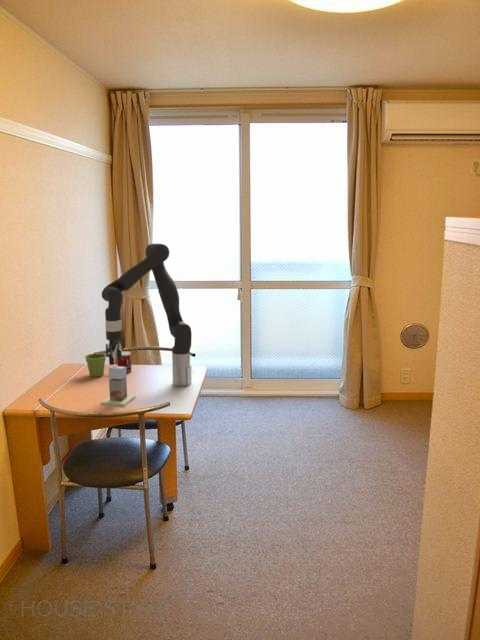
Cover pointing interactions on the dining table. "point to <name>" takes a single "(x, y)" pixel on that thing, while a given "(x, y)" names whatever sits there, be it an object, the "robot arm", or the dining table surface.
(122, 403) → the plate
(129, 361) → the canned food
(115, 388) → the grey block
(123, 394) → the walnut block
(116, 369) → the blue block
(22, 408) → the dining table surface
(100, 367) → the plant pot
